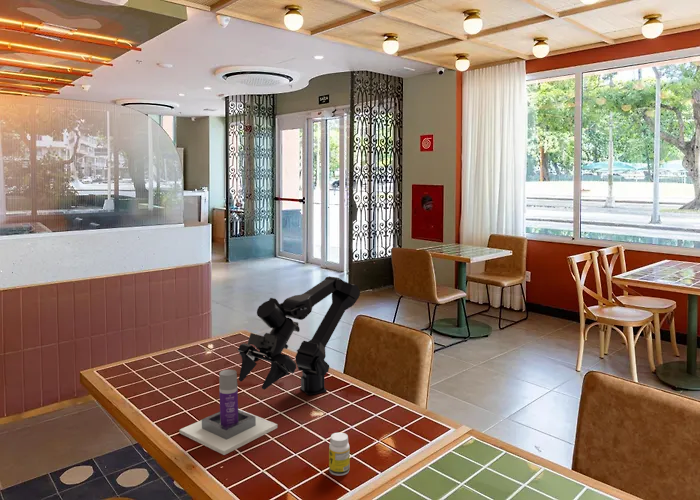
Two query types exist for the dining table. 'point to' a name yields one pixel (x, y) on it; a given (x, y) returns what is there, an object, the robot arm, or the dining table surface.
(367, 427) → the dining table surface
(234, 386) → the container
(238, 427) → the collar
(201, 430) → the mat
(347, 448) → the supplement bottle
